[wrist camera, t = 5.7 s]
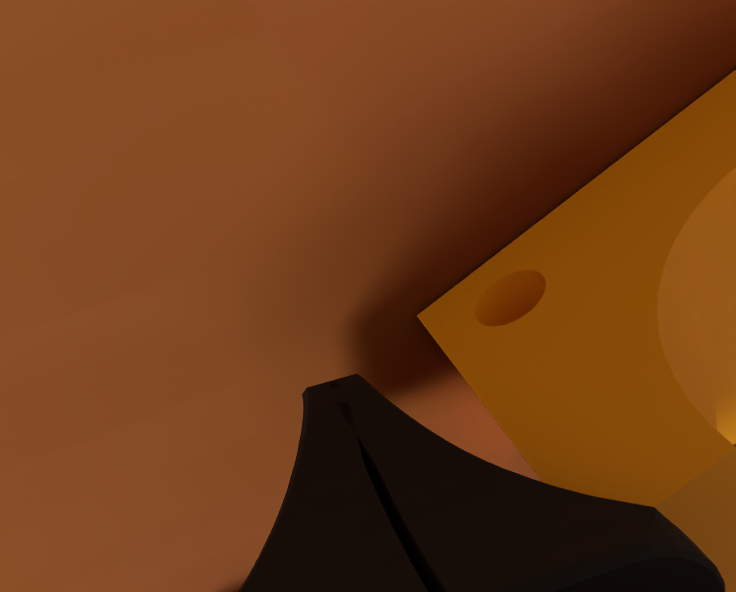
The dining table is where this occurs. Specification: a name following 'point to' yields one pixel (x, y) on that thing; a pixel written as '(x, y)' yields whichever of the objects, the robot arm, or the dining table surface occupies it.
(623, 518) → the robot arm
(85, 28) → the dining table surface
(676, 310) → the pipe clamp
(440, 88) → the dining table surface
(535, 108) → the dining table surface
